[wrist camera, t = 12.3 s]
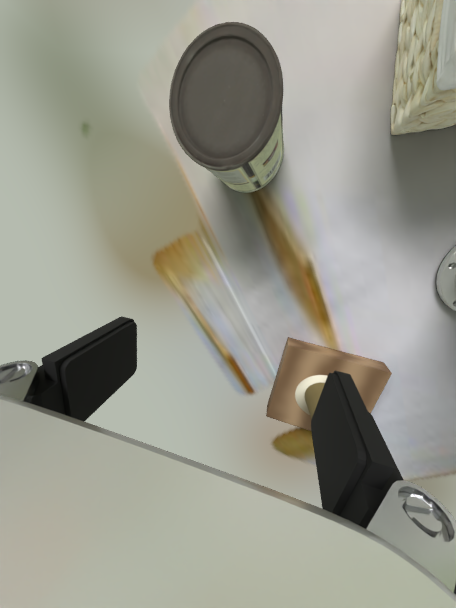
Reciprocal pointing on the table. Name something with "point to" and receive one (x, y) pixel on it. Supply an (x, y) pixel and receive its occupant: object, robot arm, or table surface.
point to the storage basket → (425, 67)
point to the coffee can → (230, 105)
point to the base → (319, 379)
